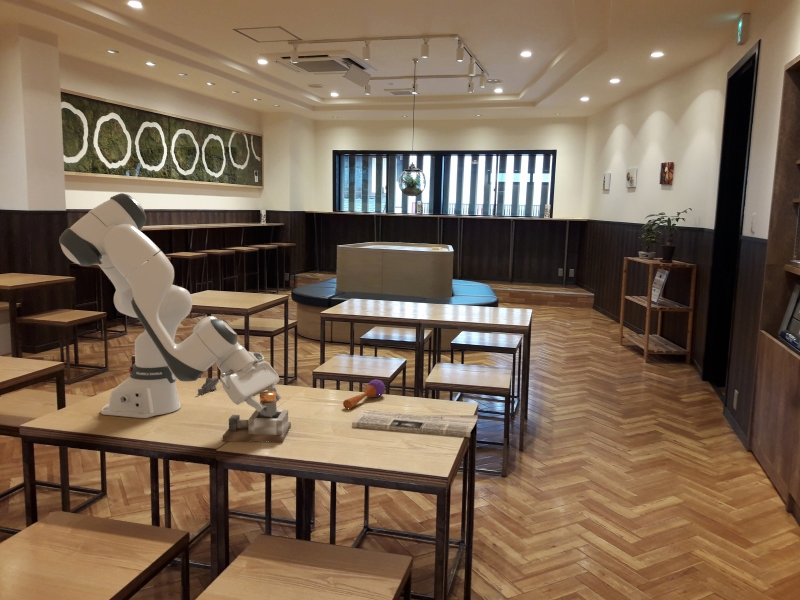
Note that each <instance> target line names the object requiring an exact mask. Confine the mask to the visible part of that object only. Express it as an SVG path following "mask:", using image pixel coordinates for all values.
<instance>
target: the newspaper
mask: <svg viewBox="0 0 800 600" xmlns="http://www.w3.org/2000/svg"><path fill="white" fill-rule="evenodd" d="M477 421H478V414H477V415H476V414H475V415H474V414H467V415H466V414H465V415H464V414H461V415H460V414H459V415H458V414H457V415H456V414H455V415H454V414H453V415H452V414H448V415H447V414H444V415H443V414H437V415H436V414H434V415H433V414H430V415H429V414H428V415H427V414H424V415H423V414H410V413H403V412H402V413H401V412H388V411H379V410H378V411H377V410H368V409H367V410H366V411H360V412H359V413H358V414H357V416H356V417H355V418H354V420H353V421H352V422H351V428H355V427H358V429H368V430H378V429H379V431H390V430H393V432H402V431H406V433H414V432H415V434H427V435H428V434H429V435H438V436H451V437H463V438H471V432H472V430H473V429H474V427H475V425H476V424H477Z"/></svg>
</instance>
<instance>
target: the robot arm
mask: <svg viewBox="0 0 800 600" xmlns="http://www.w3.org/2000/svg"><path fill="white" fill-rule="evenodd" d="M146 223H147V214H146V212H145V210H144V207H143V206H142V205H141V203H140V202H139V201H138V200H136V199H135V198H134V197H133V196H131V195H129V194H127V193H123V192H122V193H121V192H120V193H118V194H115V195H112V196H111V197H110V198H109V199H108V200H106V201H104V202H102V203H101V204H99V205H97V206H96V207H93V208H92V209H90V210H89V211H88V213H86V214H85V215H83V216H82V217H81V218H80V219H78V220H77V221H76V222H74V223H73V224H72V226H70V228H68V227H67V228H66V229H65V230H64V231H63V232H62V233H61V235H60V236H59V239H58V242H59V245H60V247H61V250H62V253H63V254H64V255H65V257H66V258H67V259H69V260H70V261H71V262H73V263H75V264H77V265H79V266H80V267H91V266H94V265H98V266H99V268H100V269H101V270H102V271H103V273H104V274H105V275H106V276H107V278H108V280H109V281H110V282H111V283H112V285H113V286H114V289H115V292H114V294H113V304H114V307H115V309H116V310H117V311H118V312H119V313H120V314H122V315H126V316H127V317H128V316H129V317H131V318H134V319H135V318H136V319H138V320H139V322H140V324H141V325H142V326H143V328H144V331H143V332H141V333H140V334H139V335H138V336H137V337H136V338H135V341H134V359H135V360H134V361H135V362H134V363H133V364H132V365H131V366H130V367H129V368H127V369H126V370H127V373H129V377H127V378H126V379H125V380H124V381H122V382H121V383H120V384H118V385H116V387H115V388H114V389H112V391H111V393H110V396H109V402H108V403H107V404H105V405H103V406H102V408H101V410H100V414H101V415H104V416H105V415H106V416H118V417H126V418H127V417H128V418H139V419H149V418H152V417H154V416H155V417H156V416H160V415H165V414H170V413H172V412H176V411H178V410H179V409H181V407H182V404H181V401H180V399H179V398H180V397H179V394H178V389H177V384H176V382H177V380H179V381H180V382H195V381H197V380H198V379H199V378H200V377H202V375H204V373H206V371H208V370H209V369H210V368H211V367H212V366H213V365H214V364H216V366H217V368H218V370H219V371H221V374H220V376H219V383H221V384H222V388H223V389H224V392H225V394H227V395H226V396H228V398H229V399H230V400H231V402H232V403H233V404H236V405H237V406H238V405H240V404H242V403H244V402H245V403H246V404H247V405H248V406H250V407H252V408H254V409H255V410H257V411H258V412H260V411H262V410H263V409H264V408H265V406H264V405H263V404H262V402H260V401H258V400H257V399H256V396H259V395H260V393H261V392H265V391H273V392H276V403H277V402H279V401H280V400H281V399H282V395H280V393H279V391H278V388H277V386H276V385H277V384H278V383H279V382H280V377H279V374H278V373H277V371H276V370H275V369H274V368H273V367H272V365H271V364H270V363H269V362H268V361H266V360H265V355H263V353H262V352H253V351H248V350H247V349H246V347H244V346H243V345H241V344H240V343H239V342H238V334H237V332H236V331H235V330H234V329H233V327H231V325H230V324H229V323H228V321H226V320H225V319H219V318H217V317H216V316H213V315H209V316H205V317H204V318H202V319H200V320H199V321H198V322H196V323H195V325H194V326H193V328H192V333H191V334H190V335H189V336H188V337H187V338H186V339H184V340H183V341H181V342H180V343H176V342H175V338H176V334H177V330H178V328H179V326H180V324H181V322H182V321H183V320H184V319H185V318H187V317H188V316H189V315H190V312H191V311H192V308H193V298H192V294H191V293H190V291H189V290H188V289H186V288H184V287H181V286H178V285H177V284H176V285H175V284H174V280H175V268H174V266H173V264H172V263H171V261H170V259H168V257H167V255H165V253H164V252H163V251H162V250H161V248H159V247H158V245H156V244H155V242H153V240H151V239H150V238H149V237H148V236H147V235H146V234H145V233H143V232H142V231H141V229H142V228H143V227H144V226H145V225H146Z"/></svg>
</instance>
